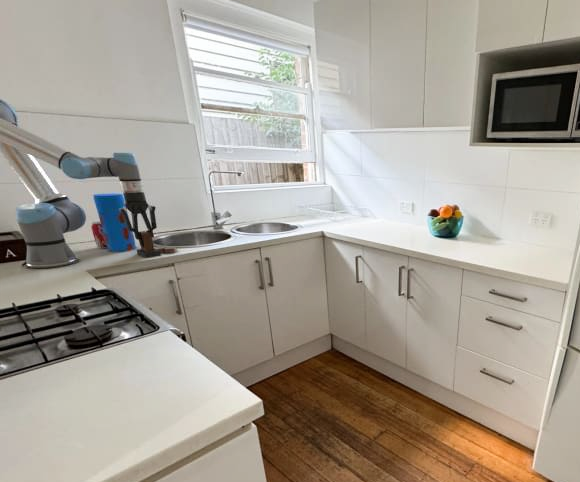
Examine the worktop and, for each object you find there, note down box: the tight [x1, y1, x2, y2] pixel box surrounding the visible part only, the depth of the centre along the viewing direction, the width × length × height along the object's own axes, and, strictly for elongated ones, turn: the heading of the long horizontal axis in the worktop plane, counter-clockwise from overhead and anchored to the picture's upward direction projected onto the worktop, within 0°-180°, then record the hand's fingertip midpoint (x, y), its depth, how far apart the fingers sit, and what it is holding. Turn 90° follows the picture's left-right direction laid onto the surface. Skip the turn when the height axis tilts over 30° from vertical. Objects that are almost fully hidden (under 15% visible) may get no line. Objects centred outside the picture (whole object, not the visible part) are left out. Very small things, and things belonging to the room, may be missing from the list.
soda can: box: [90, 220, 109, 250], centre depth 181 cm, size 7×7×12 cm
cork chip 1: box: [154, 246, 166, 254], centre depth 177 cm, size 4×4×2 cm
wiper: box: [136, 230, 162, 258], centre depth 171 cm, size 6×10×10 cm, turn 52°
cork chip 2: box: [164, 246, 178, 254], centre depth 177 cm, size 4×4×2 cm
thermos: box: [92, 192, 137, 253], centre depth 176 cm, size 11×11×25 cm
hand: (147, 245), depth 171 cm, fingers closed on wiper, 3 cm apart
